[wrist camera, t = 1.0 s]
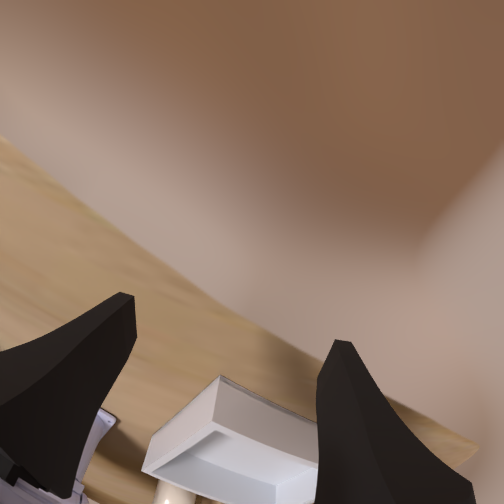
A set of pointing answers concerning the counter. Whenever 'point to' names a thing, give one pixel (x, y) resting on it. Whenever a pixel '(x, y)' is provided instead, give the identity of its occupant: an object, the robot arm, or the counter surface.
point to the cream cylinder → (172, 494)
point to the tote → (237, 449)
